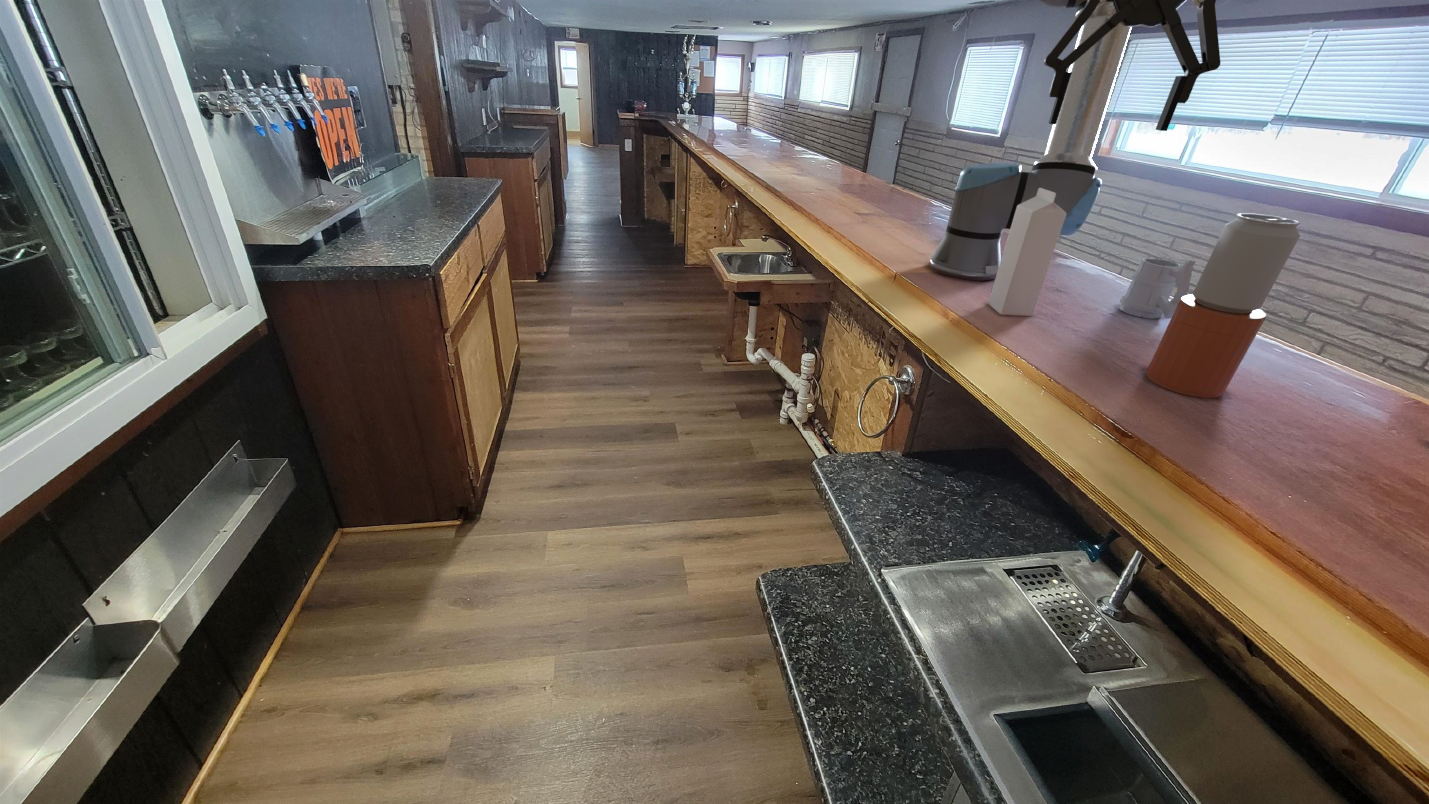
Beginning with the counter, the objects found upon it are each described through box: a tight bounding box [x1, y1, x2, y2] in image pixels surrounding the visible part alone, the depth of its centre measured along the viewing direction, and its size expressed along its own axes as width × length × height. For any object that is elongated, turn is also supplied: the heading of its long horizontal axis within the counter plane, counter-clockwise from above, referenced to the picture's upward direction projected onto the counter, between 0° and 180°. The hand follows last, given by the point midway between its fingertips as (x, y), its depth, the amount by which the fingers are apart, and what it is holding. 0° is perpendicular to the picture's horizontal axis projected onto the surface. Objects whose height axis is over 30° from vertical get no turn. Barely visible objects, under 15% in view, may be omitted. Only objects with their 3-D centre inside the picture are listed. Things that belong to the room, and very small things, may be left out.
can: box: [1192, 212, 1301, 314], centre depth 75 cm, size 8×8×12 cm
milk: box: [987, 188, 1067, 317], centre depth 103 cm, size 6×6×22 cm
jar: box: [1145, 294, 1267, 399], centre depth 81 cm, size 9×9×12 cm
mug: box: [1119, 257, 1196, 320], centre depth 106 cm, size 8×12×12 cm, turn 4°
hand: (1104, 127), depth 80 cm, fingers open, 13 cm apart
